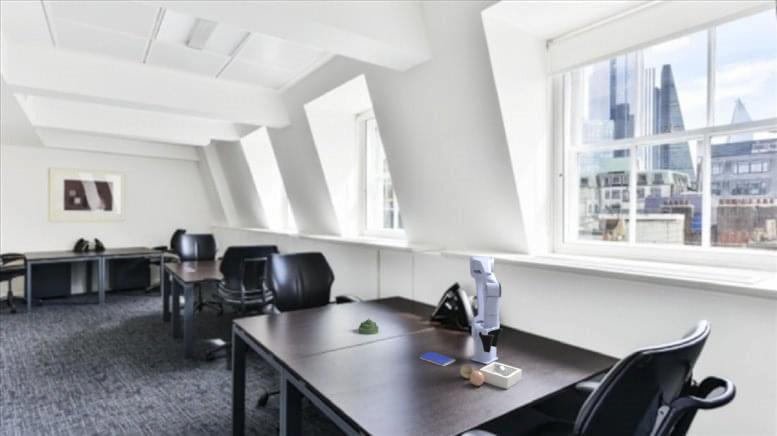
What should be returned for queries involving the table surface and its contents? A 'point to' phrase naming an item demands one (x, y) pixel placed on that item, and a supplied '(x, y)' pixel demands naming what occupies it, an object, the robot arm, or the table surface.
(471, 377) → the terracotta ball
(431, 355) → the hard drive
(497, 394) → the table surface
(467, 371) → the light oak ball
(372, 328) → the decorative artifact
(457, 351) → the table surface
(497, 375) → the off-white bin
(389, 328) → the table surface
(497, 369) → the steel ball
